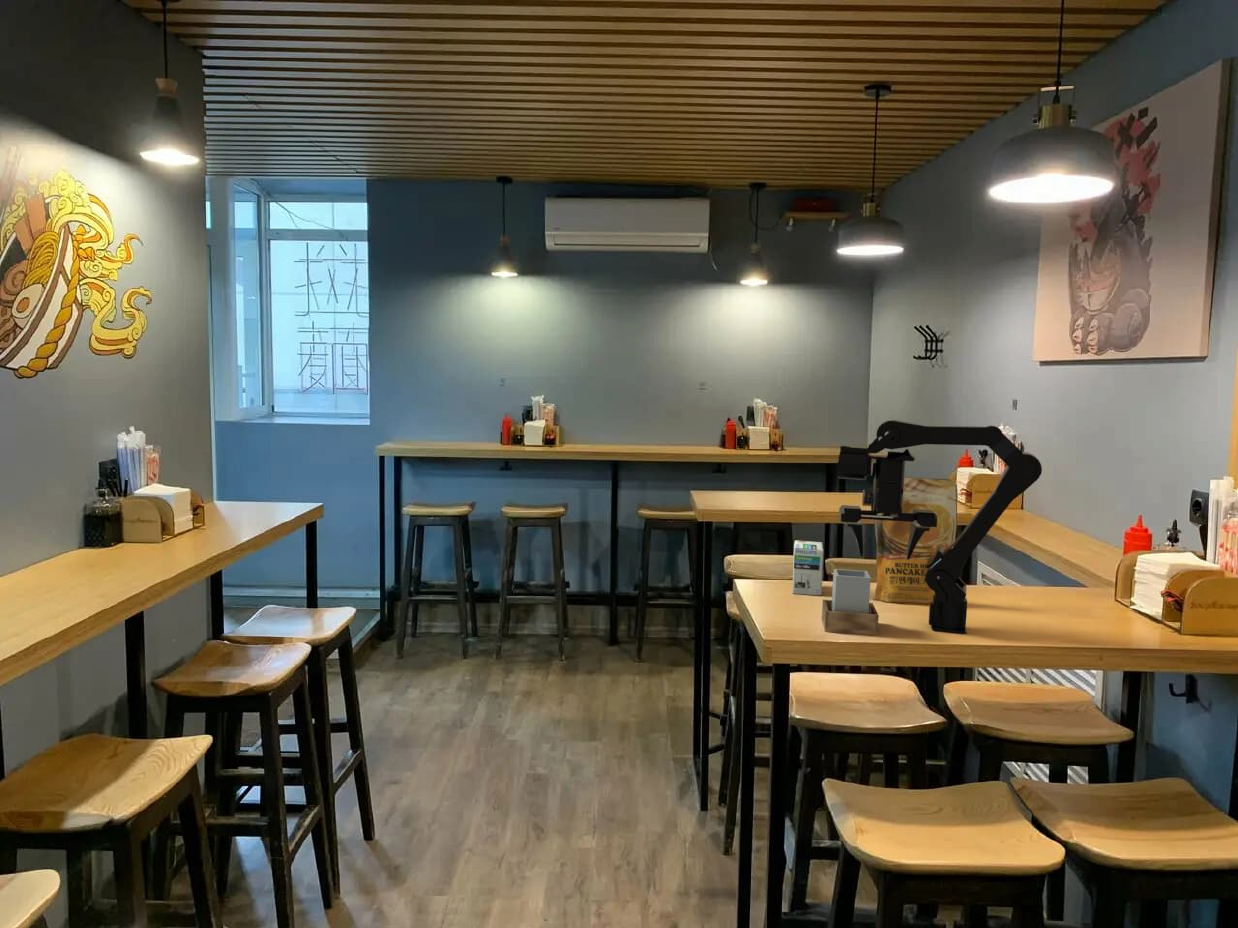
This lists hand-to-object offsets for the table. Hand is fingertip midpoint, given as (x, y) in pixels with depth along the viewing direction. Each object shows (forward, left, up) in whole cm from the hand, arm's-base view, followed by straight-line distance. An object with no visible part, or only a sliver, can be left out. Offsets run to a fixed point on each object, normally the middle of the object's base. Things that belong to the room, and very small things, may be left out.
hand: (884, 557), depth 183 cm
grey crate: (+6, +8, -12) cm, 16 cm away
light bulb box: (+17, -21, -13) cm, 30 cm away
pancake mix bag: (-6, -20, -13) cm, 25 cm away
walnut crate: (+6, +8, -13) cm, 16 cm away
